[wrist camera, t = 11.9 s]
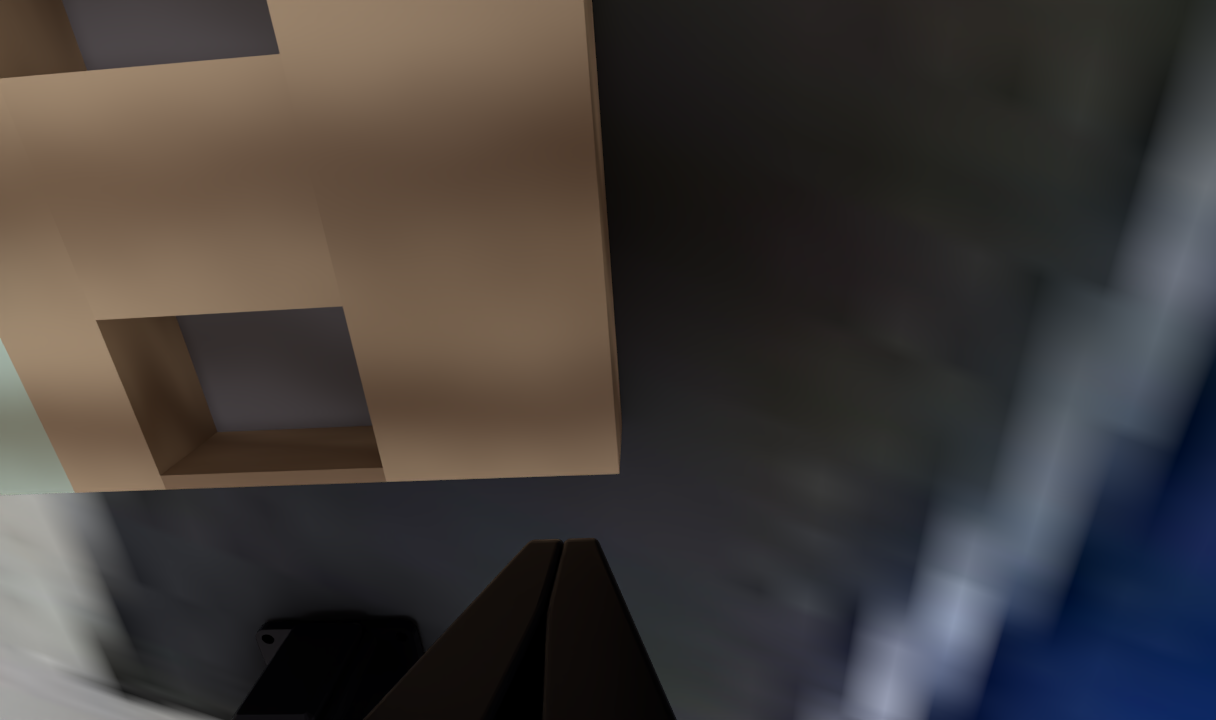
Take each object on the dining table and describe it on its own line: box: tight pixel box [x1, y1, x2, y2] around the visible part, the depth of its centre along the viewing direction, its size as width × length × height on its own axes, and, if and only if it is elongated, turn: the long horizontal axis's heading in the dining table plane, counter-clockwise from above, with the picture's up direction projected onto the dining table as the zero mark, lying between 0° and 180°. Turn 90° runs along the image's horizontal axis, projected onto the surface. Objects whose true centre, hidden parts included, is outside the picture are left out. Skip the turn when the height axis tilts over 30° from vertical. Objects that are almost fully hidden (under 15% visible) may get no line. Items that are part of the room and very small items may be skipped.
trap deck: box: [0, 0, 622, 495], centre depth 16 cm, size 17×29×5 cm, turn 94°
